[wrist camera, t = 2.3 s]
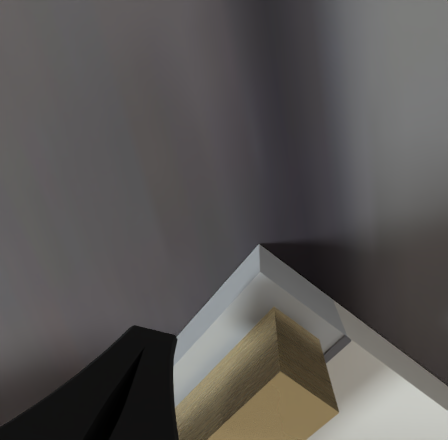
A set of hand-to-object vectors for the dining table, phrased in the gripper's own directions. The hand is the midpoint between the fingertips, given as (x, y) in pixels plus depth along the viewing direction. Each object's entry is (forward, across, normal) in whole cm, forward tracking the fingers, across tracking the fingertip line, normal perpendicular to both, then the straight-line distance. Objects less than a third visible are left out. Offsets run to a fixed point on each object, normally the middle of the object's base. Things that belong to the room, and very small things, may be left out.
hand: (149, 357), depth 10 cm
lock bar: (+2, -2, +5) cm, 5 cm away
